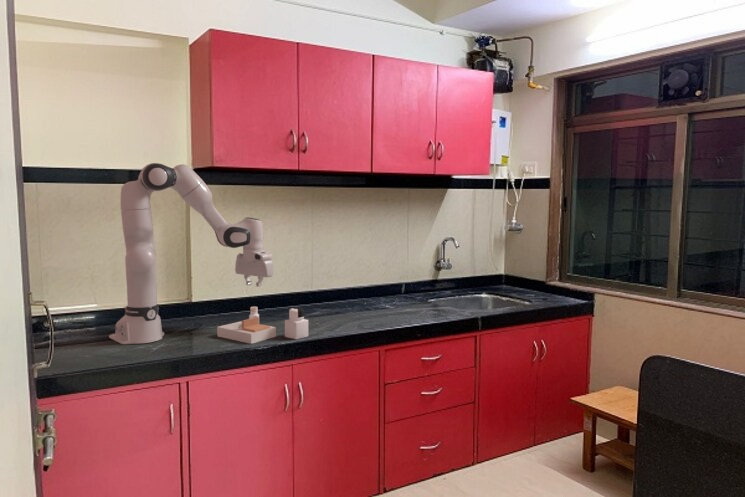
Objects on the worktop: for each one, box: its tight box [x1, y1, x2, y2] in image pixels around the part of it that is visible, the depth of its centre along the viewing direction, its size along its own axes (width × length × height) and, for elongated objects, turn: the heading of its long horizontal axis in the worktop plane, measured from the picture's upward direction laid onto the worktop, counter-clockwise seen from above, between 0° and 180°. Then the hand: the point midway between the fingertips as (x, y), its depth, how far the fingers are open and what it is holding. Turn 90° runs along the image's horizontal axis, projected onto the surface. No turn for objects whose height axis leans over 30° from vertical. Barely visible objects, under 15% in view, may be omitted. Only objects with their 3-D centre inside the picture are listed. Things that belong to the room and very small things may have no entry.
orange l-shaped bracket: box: [241, 316, 271, 332], centre depth 228 cm, size 8×8×4 cm
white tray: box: [216, 320, 277, 344], centre depth 232 cm, size 20×14×4 cm
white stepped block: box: [284, 307, 309, 340], centre depth 232 cm, size 7×7×12 cm
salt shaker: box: [248, 306, 260, 319], centre depth 246 cm, size 4×4×10 cm
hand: (253, 285), depth 245 cm, fingers open, 5 cm apart
